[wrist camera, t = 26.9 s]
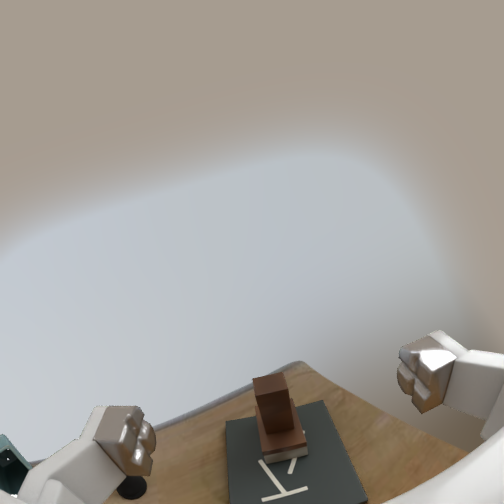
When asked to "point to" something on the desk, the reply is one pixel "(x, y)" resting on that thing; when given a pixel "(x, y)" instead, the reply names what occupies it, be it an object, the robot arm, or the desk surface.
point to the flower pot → (11, 467)
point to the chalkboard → (292, 465)
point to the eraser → (278, 420)
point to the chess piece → (132, 487)
